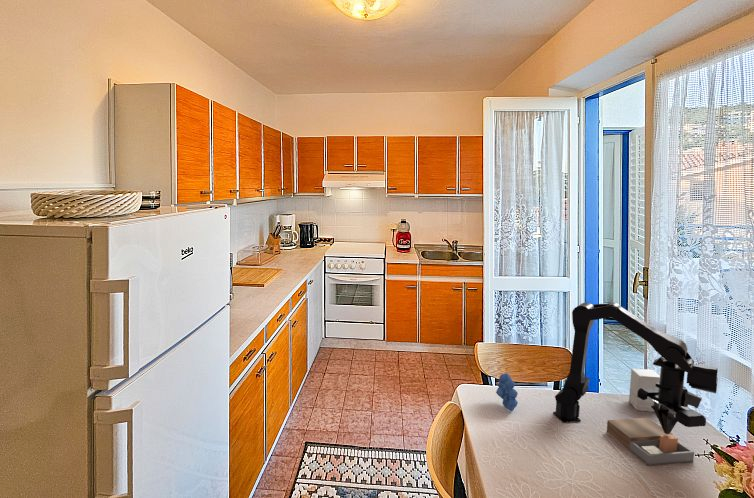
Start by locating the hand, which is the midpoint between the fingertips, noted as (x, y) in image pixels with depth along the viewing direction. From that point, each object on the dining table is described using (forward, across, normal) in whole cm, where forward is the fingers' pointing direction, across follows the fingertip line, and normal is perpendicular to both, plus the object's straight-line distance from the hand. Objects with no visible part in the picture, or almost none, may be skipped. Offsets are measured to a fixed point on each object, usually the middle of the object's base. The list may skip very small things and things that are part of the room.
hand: (666, 433), depth 124 cm
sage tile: (+2, -4, +7) cm, 9 cm away
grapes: (+5, +30, +36) cm, 47 cm away
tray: (+5, -3, +4) cm, 7 cm away
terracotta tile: (+2, 0, 0) cm, 3 cm away
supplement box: (+5, +25, -14) cm, 29 cm away
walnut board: (+5, +6, +4) cm, 9 cm away
